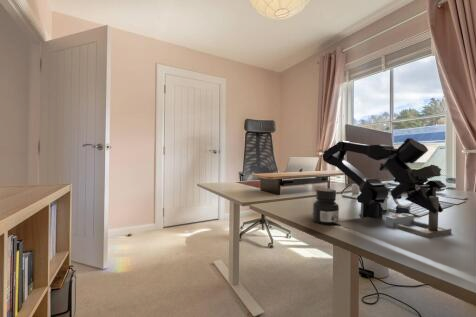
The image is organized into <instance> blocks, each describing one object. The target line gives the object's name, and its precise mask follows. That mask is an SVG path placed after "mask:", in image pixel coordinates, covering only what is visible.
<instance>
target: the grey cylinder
mask: <svg viewBox="0 0 476 317" xmlns="http://www.w3.org/2000/svg"><path fill="white" fill-rule="evenodd" d="M439 199H440V197H439V196H437V195H436V196H429V200H430V201H431V202H432V204H433V205H434V206H435V208H436V209H437V211H438V206H439V203H440V201H439ZM427 224H428V228H424V229H420V230H421V231H424V232H428V233H432V232H436V231H441V230H443V229H439V228H438V227H439V212H437V213H433V212H431V211H429V210H428V223H427Z"/></svg>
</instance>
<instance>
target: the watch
mask: <svg viewBox="0 0 476 317" xmlns="http://www.w3.org/2000/svg"><path fill="white" fill-rule="evenodd" d="M405 194H406V195H407V193H405ZM392 200H393V202H394V203H395V204H396V207H395V214H398V213H400V214H402V213H404V214H406V213H407V214H410V213H411V206H412V205H413V204H414V203H413V202H411V204H409V205H404V204H400V203H399V201H398V199H394V198H393V197H392Z"/></svg>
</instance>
